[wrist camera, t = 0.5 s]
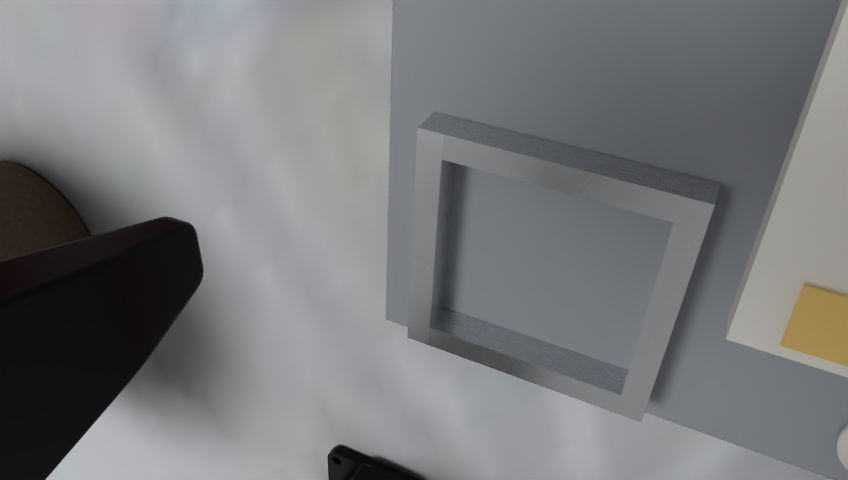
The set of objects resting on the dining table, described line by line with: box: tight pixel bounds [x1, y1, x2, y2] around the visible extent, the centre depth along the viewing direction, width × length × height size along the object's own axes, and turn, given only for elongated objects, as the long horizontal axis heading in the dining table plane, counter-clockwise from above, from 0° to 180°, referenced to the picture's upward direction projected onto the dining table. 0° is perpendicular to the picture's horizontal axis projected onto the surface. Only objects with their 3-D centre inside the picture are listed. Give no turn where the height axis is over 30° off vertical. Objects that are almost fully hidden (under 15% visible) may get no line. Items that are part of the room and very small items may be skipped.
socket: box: [408, 111, 721, 422], centre depth 22 cm, size 8×8×1 cm
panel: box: [386, 0, 848, 480], centre depth 18 cm, size 17×24×3 cm
